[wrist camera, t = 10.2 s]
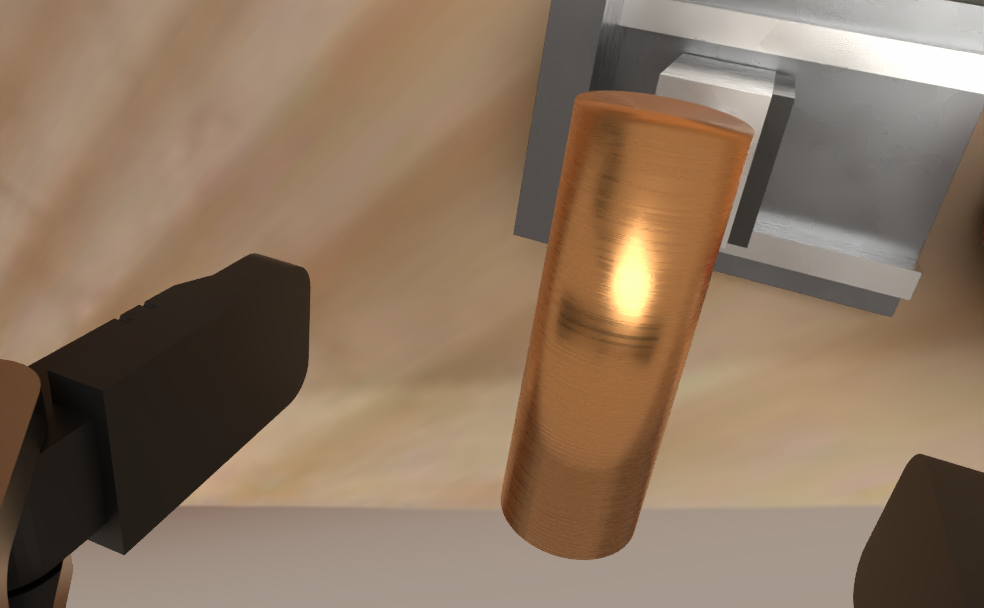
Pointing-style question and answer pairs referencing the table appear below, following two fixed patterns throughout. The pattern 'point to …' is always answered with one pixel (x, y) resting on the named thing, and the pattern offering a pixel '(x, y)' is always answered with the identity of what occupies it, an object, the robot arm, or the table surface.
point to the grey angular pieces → (794, 123)
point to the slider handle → (631, 289)
